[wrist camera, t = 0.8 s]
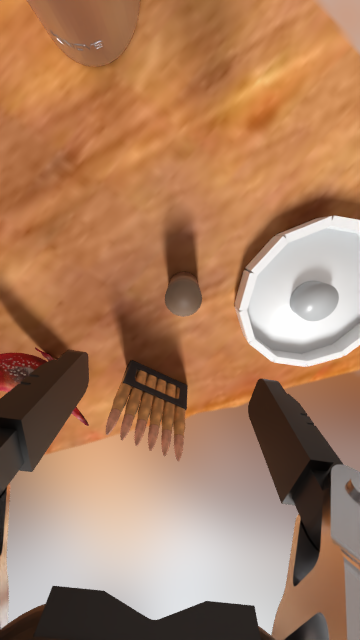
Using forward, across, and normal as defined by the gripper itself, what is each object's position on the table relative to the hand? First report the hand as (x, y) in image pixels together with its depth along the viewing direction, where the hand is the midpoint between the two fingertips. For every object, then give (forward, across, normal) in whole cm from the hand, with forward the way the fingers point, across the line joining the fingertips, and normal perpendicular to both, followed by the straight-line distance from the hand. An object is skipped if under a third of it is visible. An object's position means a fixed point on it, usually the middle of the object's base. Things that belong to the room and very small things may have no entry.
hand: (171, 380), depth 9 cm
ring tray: (+19, -17, -2) cm, 26 cm away
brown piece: (+19, 0, -1) cm, 19 cm away
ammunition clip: (+19, +1, +15) cm, 25 cm away
